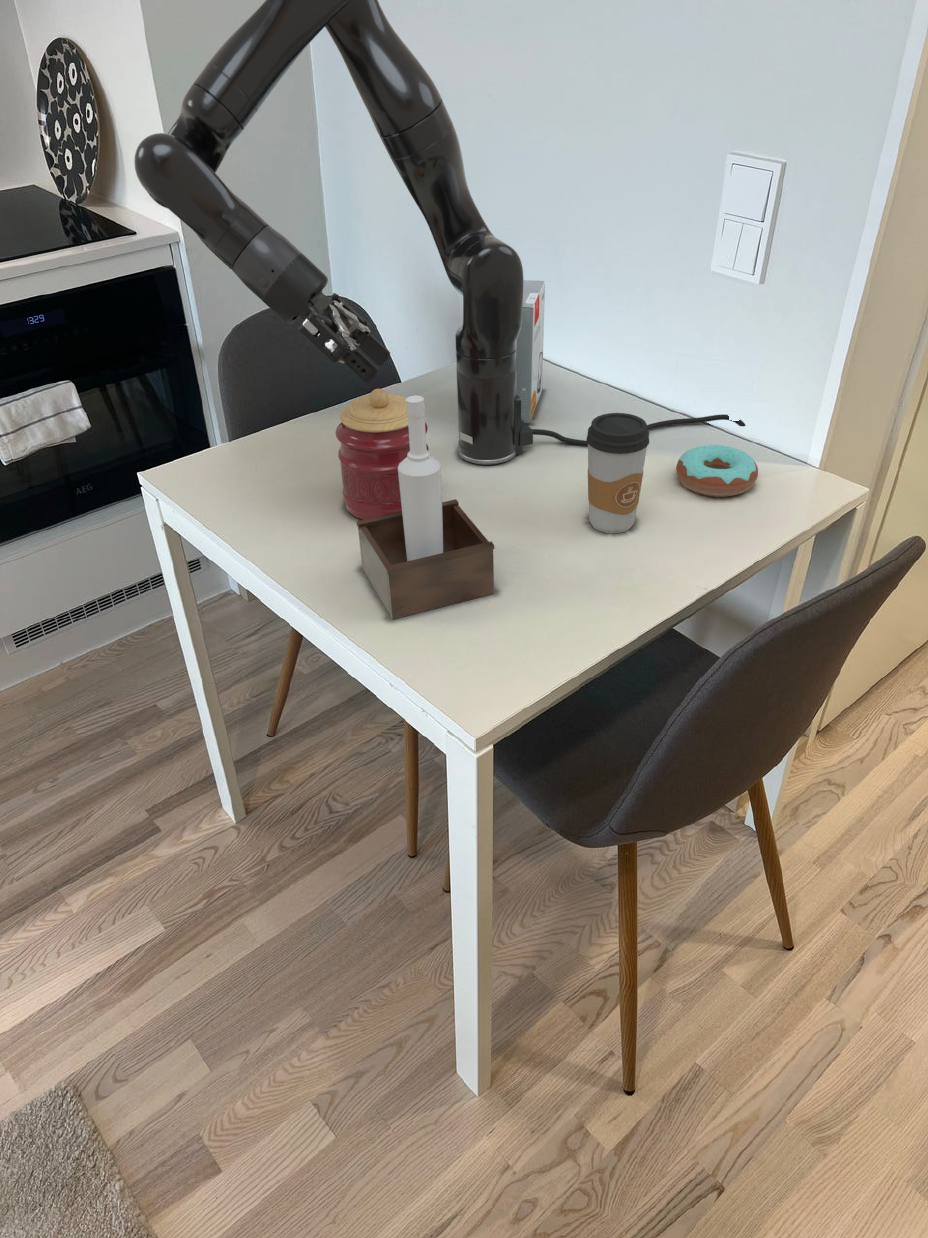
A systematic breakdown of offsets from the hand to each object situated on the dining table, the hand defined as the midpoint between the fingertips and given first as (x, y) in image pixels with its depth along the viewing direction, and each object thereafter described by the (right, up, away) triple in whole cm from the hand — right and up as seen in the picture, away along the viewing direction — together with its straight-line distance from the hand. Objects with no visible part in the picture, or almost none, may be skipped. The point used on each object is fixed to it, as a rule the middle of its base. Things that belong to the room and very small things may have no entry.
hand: (380, 368), depth 118 cm
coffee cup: (+32, -18, +14) cm, 39 cm away
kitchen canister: (-1, -15, +20) cm, 25 cm away
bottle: (+6, -27, +3) cm, 28 cm away
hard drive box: (+20, +6, +48) cm, 52 cm away
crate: (+6, -27, +3) cm, 28 cm away
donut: (+49, -11, +23) cm, 55 cm away
